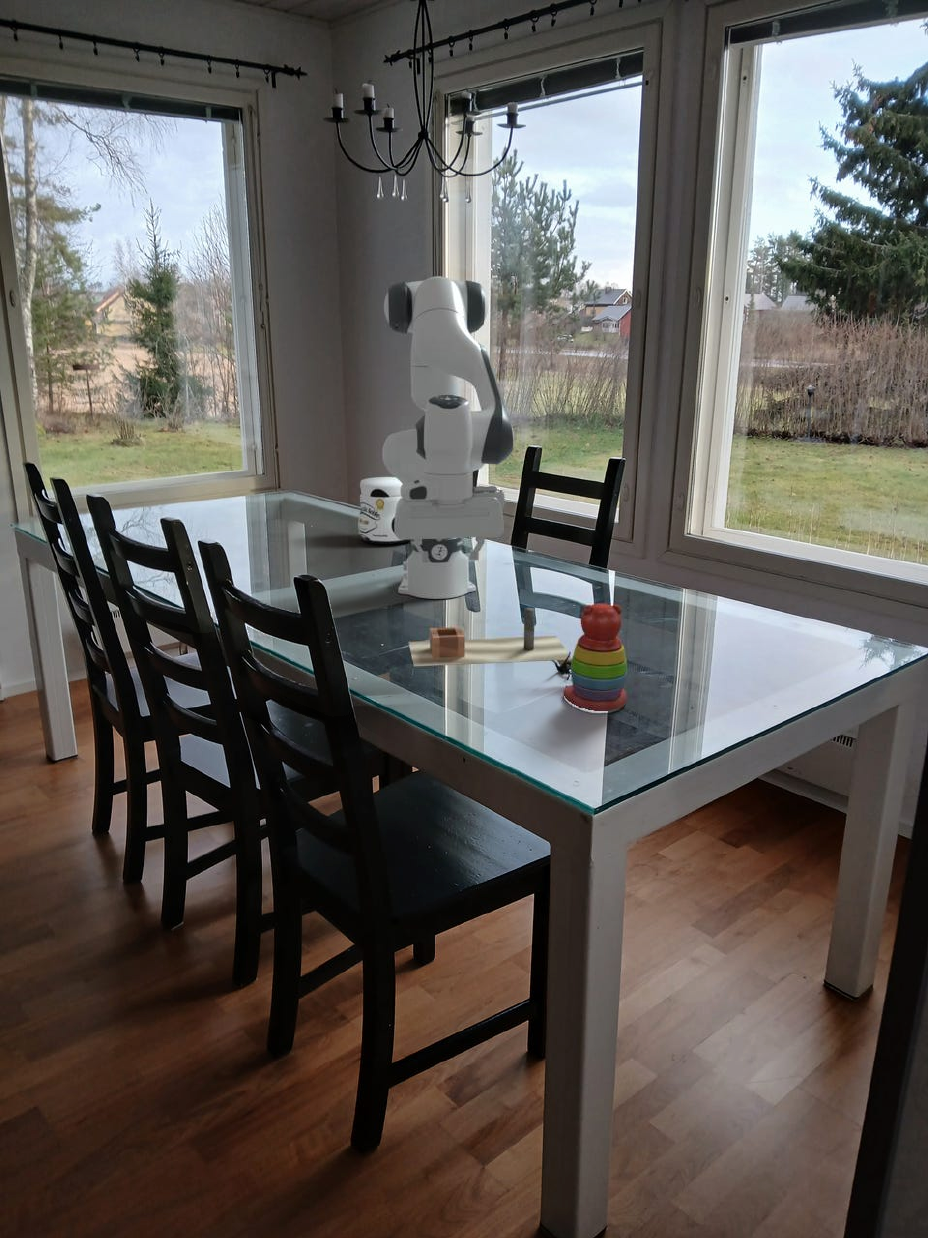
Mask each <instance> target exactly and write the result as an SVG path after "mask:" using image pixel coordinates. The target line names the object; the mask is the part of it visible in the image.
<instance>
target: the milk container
mask: <svg viewBox="0 0 928 1238" xmlns="http://www.w3.org/2000/svg"><path fill="white" fill-rule="evenodd" d="M402 485H403V484H402V483H401V482H400V480H398V479H397V478H396V477H395V476H377V477H375V476H374V477H369V478H364V479H361V480H360V482H359V494H360V495H359V501H360V512H359V516H358V521H357V528H358V535H359V536H360V538H361V539H362V540H363V541H365V542H368V543H371V544H379V545H393V544H394V545H395V544H400V543H406V542H409V541H410V540H412V539H405V540H400V539H398V538H397V537H396V535H395V532H394V523H395V512H396V506H397V503H398V501H399V500H400V499H401V498H402V496H401V493H400V489H401V486H402Z"/></svg>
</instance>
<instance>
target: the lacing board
mask: <svg viewBox="0 0 928 1238" xmlns="http://www.w3.org/2000/svg"><path fill="white" fill-rule="evenodd" d="M523 611H524V613H523V619H524V620H523V637H522V636H521V637H520V636H519V637H499V638H498V637H495V638H494V637H493V638H492V637H491V638H473V639H472V638H471V639H470V638H469V639H465V657H445V658H433V656H432V652H431V649H430V640H426V641H425V640H424V641H420V640H419V641H408V642H407V643H408V647H409V650H410V651H409V653H410V654H411V655H410V656H411V661H412V664H413V667H429V666H431V667H434V666H456V665H476V664H478V665H479V664H482V665H483V664H497V663H499V664H500V663H501V664H502V663H520V662H521V663H525V662H526V663H527V662H543V661H544V662H548V661H550V662H551V660H553V661H556V662H557V664H559V665H558V666H561V665H562V664H563V662H564V661H565V659H566V658H567V657H568V655H569V652H568V651H567V650H566V649H565V647H564V645H563V644H562V643H561V641H560V639H559V638H558V637H557V636H556V635H548V636H547V635H546V636H541V635H540V636H535V618H536V617H535V616H536V615H535V614H536V612H535V611H536V609H535V608H533V607H525V608H524V609H523ZM572 658H573V657H572V656H571V655H570V656H569V658H568V660H567V661H569V662H572ZM567 661H566V662H567ZM567 666H570V665H568V664H567Z"/></svg>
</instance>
